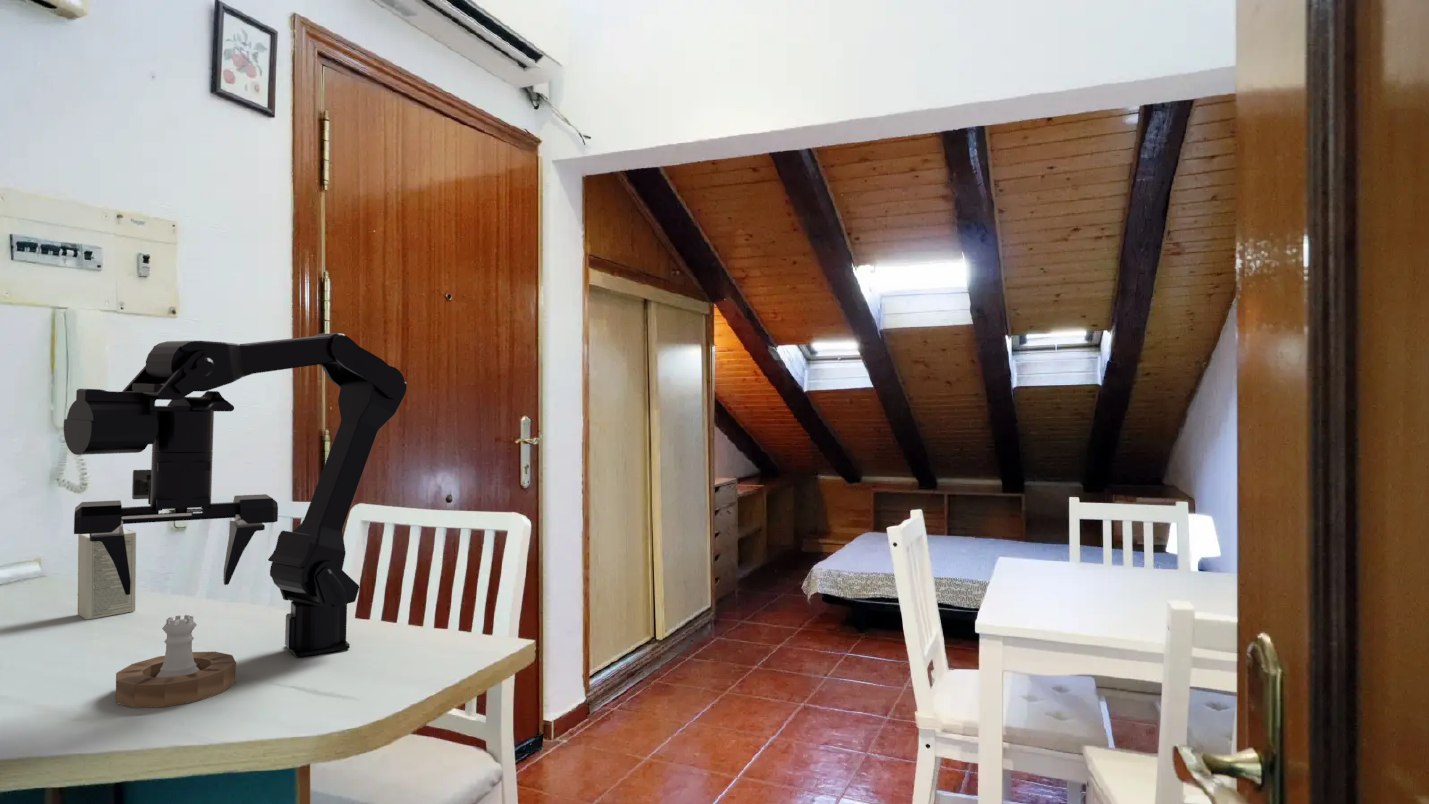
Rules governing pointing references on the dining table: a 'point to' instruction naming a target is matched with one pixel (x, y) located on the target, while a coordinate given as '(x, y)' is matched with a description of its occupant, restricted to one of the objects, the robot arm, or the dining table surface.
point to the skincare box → (104, 579)
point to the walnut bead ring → (174, 681)
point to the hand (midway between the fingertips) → (178, 589)
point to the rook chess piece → (178, 647)
